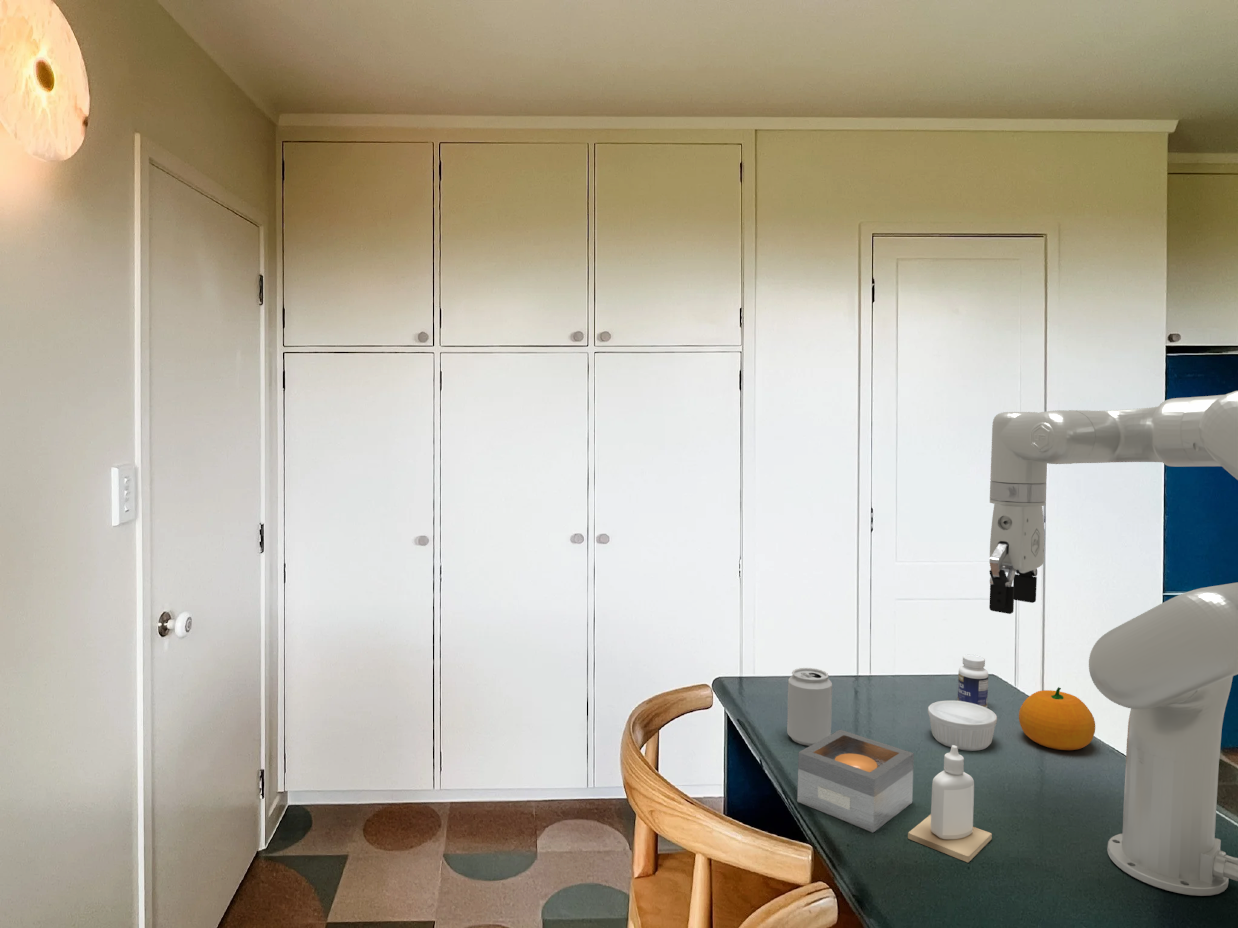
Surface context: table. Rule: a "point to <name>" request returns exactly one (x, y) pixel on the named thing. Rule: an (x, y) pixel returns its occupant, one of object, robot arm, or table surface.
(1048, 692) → the fruit
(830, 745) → the grey box
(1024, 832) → the table surface
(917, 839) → the coaster
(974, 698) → the pill bottle
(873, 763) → the button
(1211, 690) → the robot arm
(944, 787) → the eye dropper bottle
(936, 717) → the ramekin
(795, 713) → the can
